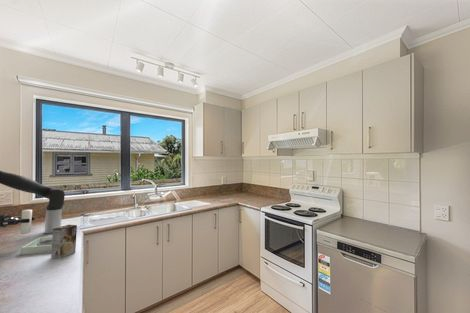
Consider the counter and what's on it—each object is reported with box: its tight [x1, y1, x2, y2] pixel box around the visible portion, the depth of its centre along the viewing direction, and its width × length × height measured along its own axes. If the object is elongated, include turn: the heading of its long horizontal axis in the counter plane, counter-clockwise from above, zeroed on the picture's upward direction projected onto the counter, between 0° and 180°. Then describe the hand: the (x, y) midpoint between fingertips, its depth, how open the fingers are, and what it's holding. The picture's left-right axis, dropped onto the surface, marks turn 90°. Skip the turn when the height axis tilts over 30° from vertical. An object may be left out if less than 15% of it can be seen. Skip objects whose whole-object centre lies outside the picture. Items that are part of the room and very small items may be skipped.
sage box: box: [19, 235, 53, 255], centre depth 126 cm, size 18×16×4 cm
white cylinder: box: [19, 209, 33, 235], centre depth 126 cm, size 4×4×14 cm
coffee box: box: [50, 224, 78, 260], centre depth 116 cm, size 9×6×16 cm
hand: (31, 219), depth 126 cm, fingers closed on white cylinder, 4 cm apart
